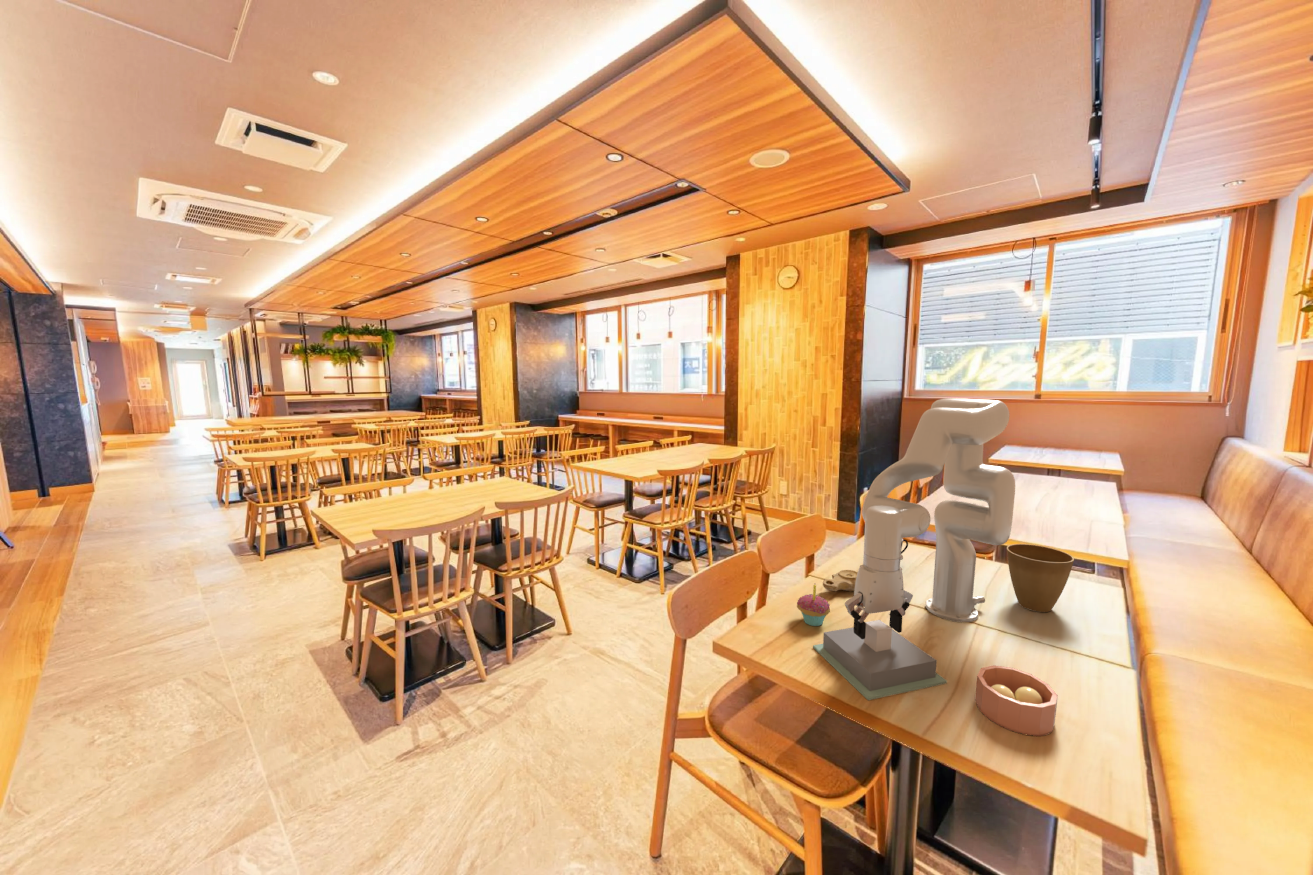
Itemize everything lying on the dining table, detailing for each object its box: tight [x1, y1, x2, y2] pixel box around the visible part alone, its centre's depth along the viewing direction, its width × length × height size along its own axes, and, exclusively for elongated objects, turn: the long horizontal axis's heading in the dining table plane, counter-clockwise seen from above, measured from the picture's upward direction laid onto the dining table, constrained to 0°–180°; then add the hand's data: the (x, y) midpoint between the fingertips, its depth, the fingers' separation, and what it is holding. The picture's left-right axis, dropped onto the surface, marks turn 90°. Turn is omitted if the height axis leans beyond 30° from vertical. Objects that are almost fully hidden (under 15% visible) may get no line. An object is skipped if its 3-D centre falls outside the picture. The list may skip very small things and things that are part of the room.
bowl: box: [974, 664, 1059, 737], centre depth 96 cm, size 12×12×6 cm
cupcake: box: [796, 584, 831, 627], centre depth 131 cm, size 9×8×12 cm
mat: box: [812, 643, 948, 701], centre depth 113 cm, size 20×20×1 cm
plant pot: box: [1006, 543, 1075, 613], centre depth 138 cm, size 15×15×16 cm
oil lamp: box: [822, 569, 858, 592], centre depth 150 cm, size 11×14×5 cm
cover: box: [822, 619, 938, 691], centre depth 112 cm, size 17×17×9 cm
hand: (877, 632), depth 112 cm, fingers open, 9 cm apart
